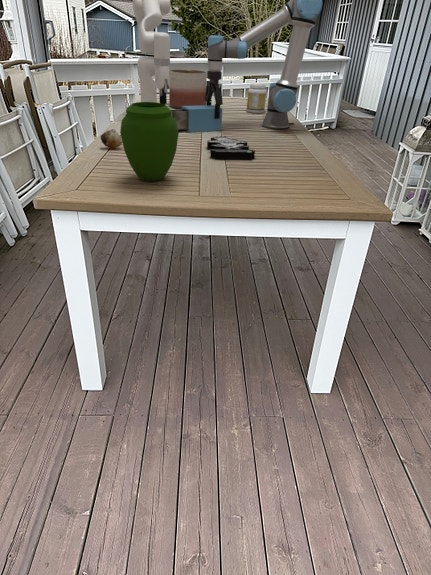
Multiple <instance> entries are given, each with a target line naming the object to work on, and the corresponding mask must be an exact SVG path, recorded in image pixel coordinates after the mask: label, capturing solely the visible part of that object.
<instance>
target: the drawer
mask: <svg viewBox="0 0 431 575" xmlns="http://www.w3.org/2000/svg"><path fill="white" fill-rule="evenodd" d="M170 109H171V108H170ZM171 115H172V116H173V118H174V119H175V120H176V123H177V128H178V130H184V129H188V111H187V110H185V109H178V108H174V109H173V108H172V109H171Z"/></svg>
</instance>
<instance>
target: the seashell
mask: <svg viewBox="0 0 431 575" xmlns="http://www.w3.org/2000/svg"><path fill="white" fill-rule="evenodd" d="M100 140H101V143H102V144H103V145H104V146H105V147H107V148H110V149H116V148H119V147H120V146H122V145H123V142H122V138H121V134H119V133H118V132H117V131H116V129H114V128H112V129H109V130H106V131H104V132H103V133H102V134H101V135H100Z"/></svg>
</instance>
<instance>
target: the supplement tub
mask: <svg viewBox="0 0 431 575" xmlns="http://www.w3.org/2000/svg"><path fill="white" fill-rule="evenodd" d="M266 87H267V86H266V84H264V83H250V84H249V88H248V90H247V102H246V111H247V112H248V113H250V114H251V113H252V114H263V113H265V110H266V101H267V100H266V99H267V89H266Z"/></svg>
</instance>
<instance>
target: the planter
mask: <svg viewBox="0 0 431 575" xmlns="http://www.w3.org/2000/svg"><path fill="white" fill-rule="evenodd" d="M169 77H170V88H169V89H168V92H169V93H168V95H169V96H168V97H169V98H168V99H169V100H168V103H169V106H170V107H171V108H174V109H182V106H201V105H206V100H205V92H206V86H207V81H208V80H207V71H204V70H197V69H169Z"/></svg>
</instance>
